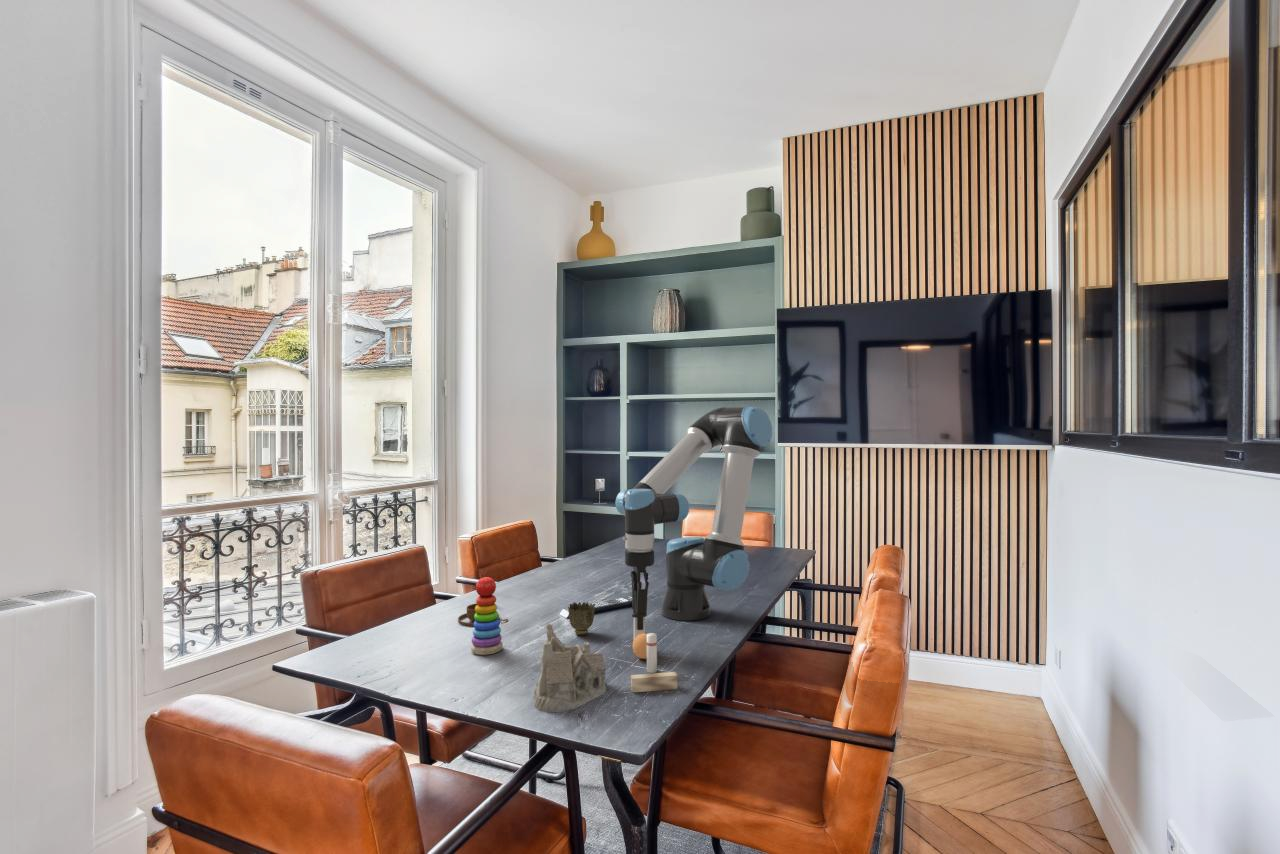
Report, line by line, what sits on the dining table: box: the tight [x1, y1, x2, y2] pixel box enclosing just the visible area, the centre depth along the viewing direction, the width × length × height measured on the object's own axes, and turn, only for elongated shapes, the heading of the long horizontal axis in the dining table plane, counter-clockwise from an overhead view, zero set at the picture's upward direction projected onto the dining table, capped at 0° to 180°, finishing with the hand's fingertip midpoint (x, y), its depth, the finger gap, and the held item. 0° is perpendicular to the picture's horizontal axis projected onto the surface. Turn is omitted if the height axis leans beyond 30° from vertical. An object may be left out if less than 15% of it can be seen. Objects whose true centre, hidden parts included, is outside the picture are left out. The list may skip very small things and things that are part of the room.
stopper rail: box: [630, 671, 678, 694], centre depth 138 cm, size 10×2×3 cm, turn 100°
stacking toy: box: [470, 576, 504, 656], centre depth 162 cm, size 8×8×19 cm
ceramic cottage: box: [533, 623, 607, 713], centre depth 136 cm, size 16×16×15 cm
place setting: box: [457, 603, 509, 627], centre depth 191 cm, size 18×20×6 cm
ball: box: [632, 632, 648, 660], centre depth 156 cm, size 6×6×6 cm
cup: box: [567, 601, 596, 637], centre depth 175 cm, size 8×7×8 cm
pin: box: [646, 632, 658, 674], centre depth 148 cm, size 2×2×8 cm
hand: (639, 640), depth 162 cm, fingers closed
